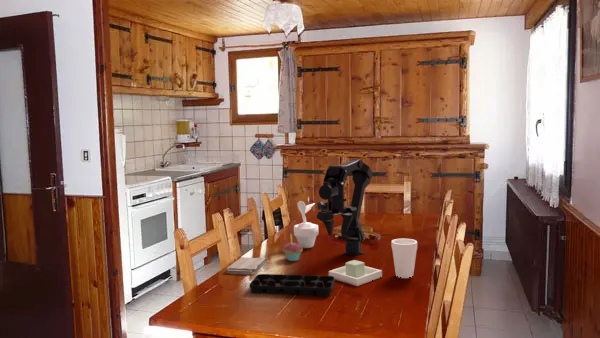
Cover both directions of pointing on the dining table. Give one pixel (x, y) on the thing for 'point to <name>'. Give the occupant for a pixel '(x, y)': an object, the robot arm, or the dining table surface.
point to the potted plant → (305, 227)
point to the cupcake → (292, 250)
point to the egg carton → (292, 284)
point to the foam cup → (404, 256)
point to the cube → (355, 268)
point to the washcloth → (246, 266)
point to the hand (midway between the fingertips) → (337, 233)
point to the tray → (341, 276)
